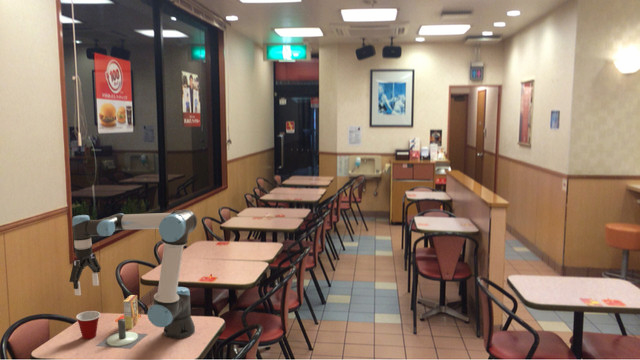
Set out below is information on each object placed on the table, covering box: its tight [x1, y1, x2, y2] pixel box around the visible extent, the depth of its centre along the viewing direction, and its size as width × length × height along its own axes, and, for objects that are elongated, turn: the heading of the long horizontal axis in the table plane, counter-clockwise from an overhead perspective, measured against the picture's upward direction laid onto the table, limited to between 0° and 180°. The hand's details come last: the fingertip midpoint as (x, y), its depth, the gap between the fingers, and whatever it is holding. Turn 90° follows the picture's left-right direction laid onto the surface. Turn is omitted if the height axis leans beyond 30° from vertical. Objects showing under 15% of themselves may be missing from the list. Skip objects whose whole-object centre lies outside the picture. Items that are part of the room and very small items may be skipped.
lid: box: [107, 318, 138, 346], centre depth 239 cm, size 14×14×10 cm
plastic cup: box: [75, 310, 101, 340], centre depth 243 cm, size 11×11×12 cm
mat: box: [95, 331, 149, 350], centre depth 240 cm, size 18×16×1 cm
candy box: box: [123, 294, 139, 330], centre depth 256 cm, size 9×4×15 cm, turn 179°
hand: (87, 290), depth 240 cm, fingers open, 13 cm apart
